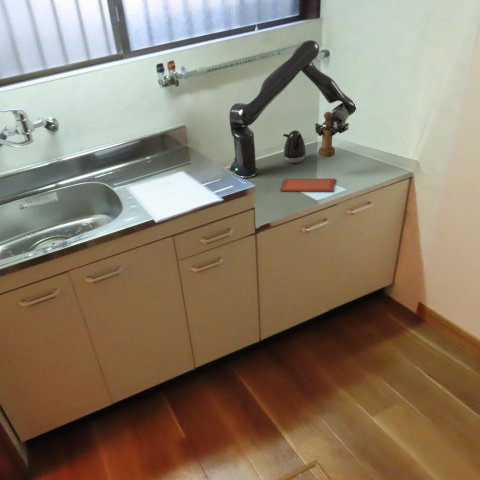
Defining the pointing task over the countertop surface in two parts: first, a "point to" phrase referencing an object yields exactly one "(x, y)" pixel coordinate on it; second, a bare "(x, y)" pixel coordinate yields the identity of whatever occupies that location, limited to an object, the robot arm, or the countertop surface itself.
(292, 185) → the tray
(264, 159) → the countertop surface
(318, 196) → the countertop surface
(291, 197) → the countertop surface
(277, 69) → the robot arm
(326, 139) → the mortar and pestle
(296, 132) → the pump dispenser
